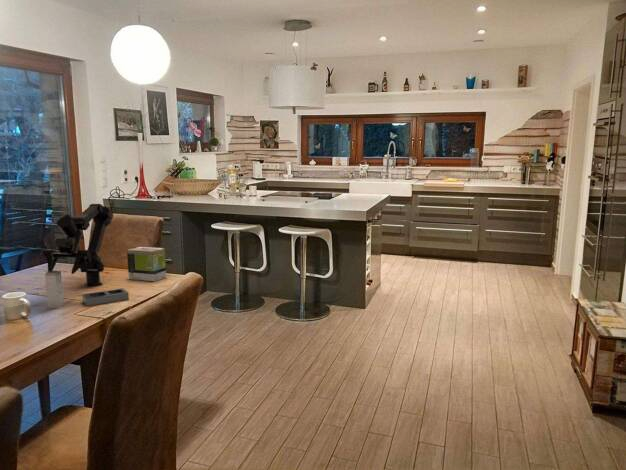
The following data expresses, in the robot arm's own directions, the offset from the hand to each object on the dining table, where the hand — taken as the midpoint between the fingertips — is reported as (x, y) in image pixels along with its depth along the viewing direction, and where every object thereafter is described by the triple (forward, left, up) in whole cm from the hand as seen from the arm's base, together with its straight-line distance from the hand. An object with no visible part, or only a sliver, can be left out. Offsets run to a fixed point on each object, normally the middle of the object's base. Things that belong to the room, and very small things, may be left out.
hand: (60, 273), depth 193 cm
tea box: (-19, +41, -12) cm, 47 cm away
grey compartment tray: (+8, +15, -12) cm, 20 cm away
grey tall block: (+5, -3, -12) cm, 13 cm away
